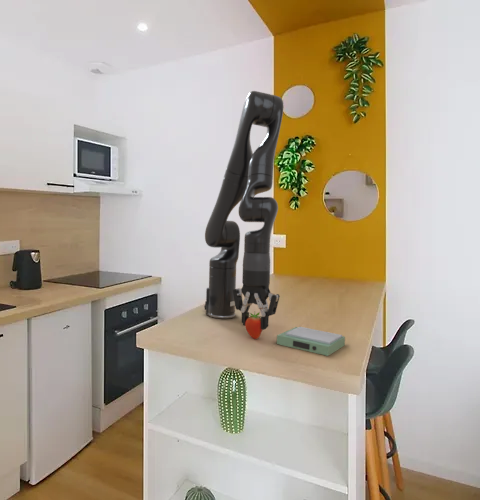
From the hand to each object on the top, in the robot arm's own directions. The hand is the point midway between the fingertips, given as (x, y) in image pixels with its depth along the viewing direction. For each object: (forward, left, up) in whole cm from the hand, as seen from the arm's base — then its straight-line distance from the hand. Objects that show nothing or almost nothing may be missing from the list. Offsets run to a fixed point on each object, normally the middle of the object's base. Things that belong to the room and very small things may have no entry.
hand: (254, 326), depth 119 cm
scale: (+14, +6, -3) cm, 16 cm away
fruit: (0, 0, -4) cm, 4 cm away
